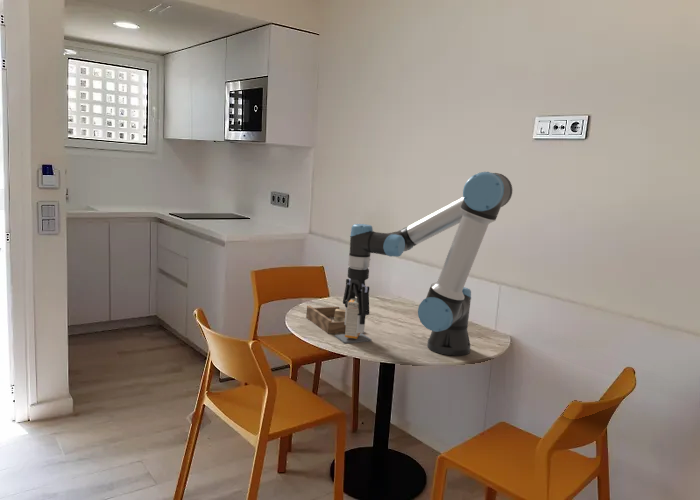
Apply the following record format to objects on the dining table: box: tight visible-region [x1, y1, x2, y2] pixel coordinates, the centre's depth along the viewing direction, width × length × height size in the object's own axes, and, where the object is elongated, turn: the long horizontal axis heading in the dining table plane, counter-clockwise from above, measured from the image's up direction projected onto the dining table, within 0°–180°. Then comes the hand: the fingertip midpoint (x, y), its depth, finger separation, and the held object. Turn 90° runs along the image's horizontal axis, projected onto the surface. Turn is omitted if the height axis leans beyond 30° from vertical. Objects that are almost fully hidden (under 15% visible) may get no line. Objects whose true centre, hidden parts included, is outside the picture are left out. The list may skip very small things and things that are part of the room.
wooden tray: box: [305, 305, 346, 335], centre depth 222 cm, size 21×14×5 cm, turn 26°
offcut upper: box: [333, 308, 346, 318], centre depth 224 cm, size 7×3×2 cm, turn 81°
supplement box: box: [344, 297, 360, 339], centre depth 205 cm, size 8×5×13 cm, turn 169°
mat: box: [334, 333, 373, 344], centre depth 206 cm, size 8×11×1 cm
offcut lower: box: [333, 315, 345, 322], centre depth 224 cm, size 9×3×3 cm, turn 38°
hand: (354, 328), depth 205 cm, fingers closed on supplement box, 9 cm apart
